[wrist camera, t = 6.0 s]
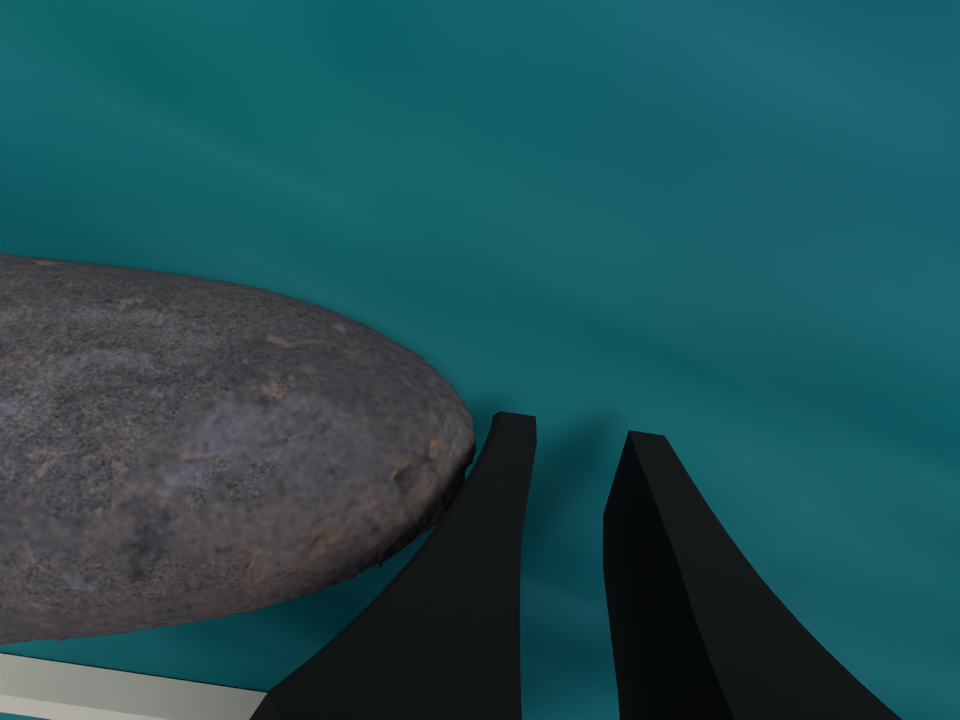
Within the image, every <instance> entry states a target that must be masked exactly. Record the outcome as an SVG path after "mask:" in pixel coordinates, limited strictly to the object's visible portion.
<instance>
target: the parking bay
mask: <svg viewBox="0 0 960 720" xmlns="http://www.w3.org/2000/svg"><path fill="white" fill-rule="evenodd" d="M266 694H267V693H264V692H258V691H251V690H244V689H237V688H231V687H224V686H217V685H210V684H203V683H197V682H190V681H183V680H176V679H170V678H163V677H156V676H149V675H143V674H136V673H129V672H122V671H116V670H109V669H102V668H95V667H89V666H82V665H75V664H68V663H62V662H55V661H48V660H41V659H35V658H28V657H21V656H14V655H8V654H1V653H0V712H5V713H12V714H18V715H25V716H32V717H39V718H45V719H52V720H249V719H250V718H251V716H252V715H253V713H254V712H255V710H256V709H257V707H258V706H259V704H260V703H261V701H262V700H263V698H264V697H265V696H266Z"/></svg>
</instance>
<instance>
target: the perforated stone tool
mask: <svg viewBox="0 0 960 720" xmlns="http://www.w3.org/2000/svg"><path fill="white" fill-rule="evenodd" d="M473 425H474V424H473V422H472V417H471V414H470V413H469V412H468V410H467V408H466V406H465V402H464V401H463V399H461V397H460V396H459V395H458V393H457V392H456V391H455V389H454V388H453V386H452V385H451V384H450V383H449V382H448V381H447V380H446V379H445V378H443V377H442V376H441V374H440V373H439V372H437V371H436V369H435V368H434V367H433V366H431V365H430V364H428V363H427V362H426V360H425V359H424V358H423V357H422V356H420V355H418V354H416V353H414V352H413V351H411V350H409V349H407V348H405V347H404V346H402V345H400V344H398V343H397V342H395V341H393V340H391V339H389V338H387V337H386V336H384V335H383V334H381V333H379V332H377V331H376V330H374V329H372V328H371V327H369V326H366V325H364V324H362V323H360V322H358V321H355V320H353V319H350V318H347V317H345V316H343V315H341V314H339V313H336V312H334V311H331V310H329V309H325V308H323V307H320V306H318V305H314V304H310V303H308V302H306V301H301V300H298V299H294V298H291V297H287V296H284V295H281V294H277V293H274V292H270V291H266V290H262V289H258V288H253V287H250V286H245V285H238V284H234V283H228V282H222V281H216V280H208V279H203V278H199V277H193V276H187V275H180V274H172V273H164V272H157V271H148V270H139V269H132V268H128V267H118V266H110V265H101V264H94V263H82V262H71V261H62V260H54V259H45V258H34V257H20V256H14V255H7V254H0V645H2V644H10V643H11V644H13V643H19V642H27V641H31V640H48V639H56V640H59V641H63V640H66V639H67V638H80V637H95V636H102V635H113V634H120V633H127V632H135V631H138V630H142V629H150V628H156V627H163V626H170V625H180V624H183V623H189V622H200V621H204V620H208V619H214V618H218V617H224V616H230V615H233V614H240V613H244V612H249V611H253V610H258V609H261V608H264V607H267V606H271V605H274V604H278V603H282V602H284V601H290V600H295V599H297V598H299V597H301V596H304V595H309V594H312V593H317V592H319V591H321V590H323V589H326V588H327V587H328V586H330V585H335V584H338V583H339V582H340V581H342V580H346V579H350V578H352V577H355V576H356V575H357V574H358V573H362V572H364V571H365V570H366V569H368V568H370V567H373V566H375V565H376V564H379V566H380V567H382V562H384V561H385V560H388V559H390V558H391V557H392V556H393V555H395V554H397V553H398V552H400V551H401V550H402V549H404V548H405V547H406V546H407V545H409V544H410V543H411V542H413V541H414V540H415V539H416V538H418V537H419V536H420V535H422V534H423V533H424V532H426V531H428V530H429V529H431V528H433V527H435V526H437V525H438V523H439V522H440V520H441V519H442V517H443V516H444V513H445V512H446V511H447V510H448V508H449V507H450V505H451V504H452V502H453V501H454V499H455V498H456V496H457V495H458V493H459V491H460V490H461V488H462V486H463V484H464V482H465V470H466V468H467V467H468V466H469V465H470V464H471V463H473V457H474V454H475V452H476V447H475V442H476V441H475V432H474V431H473Z"/></svg>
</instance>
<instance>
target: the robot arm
mask: <svg viewBox="0 0 960 720" xmlns="http://www.w3.org/2000/svg"><path fill="white" fill-rule="evenodd" d="M536 444H537V436H536V417H535V416H529V415H522V414H515V413H509V412H502V411H500V412H499V413H497V414H495V415H493V419H492V425H491V428H490V431H489V434H488V437H487V439H486V442H485V444H484V447H483V449H482V451H481V453H480V455H479V457H478V459H477V461H476V463H475V465H474V467H473V469H472V470H471V472H470V474H469V476H468V477H467V479H466V481H465V483H464V485H463V486H462V488H461V490H460V491H459V493H458V495H457V496H456V498H455V499H454V501H453V502H452V504H451V505H450V507H449V508H448V510H447V511H446V513H445V514H444V516H443V517H442V519H441V520H440V522H439V523H438V525H437V526H436V527H435V529H434V530H433V531H432V533H431V534H430V535H429V537H428V538H427V539H426V541H425V542H424V543H423V545H422V546H421V547H420V548H419V550H418V551H417V552H416V553H415V554H414V556H413V557H412V558H411V559H410V561H409V562H408V563H407V564H406V565H405V567H404V568H403V569H402V570H401V571H400V572H399V573H398V574H397V575H396V577H395V578H394V579H393V580H392V581H391V582H390V583H389V584H388V585H387V587H386V588H385V589H384V590H383V591H382V592H381V593H380V594H379V595H378V596H377V597H376V598H375V599H374V600H373V601H372V602H371V603H370V604H369V605H368V606H367V607H366V608H365V609H364V610H363V611H362V612H361V613H360V614H359V615H358V616H357V617H356V618H355V619H354V620H353V621H352V622H351V623H349V624H348V625H347V626H346V627H345V628H344V629H343V630H342V631H341V632H340V633H339V634H338V635H337V636H336V637H334V638H333V639H332V640H331V641H330V642H329V643H328V644H327V645H326V646H324V647H323V648H322V649H321V650H320V651H319V652H318V653H316V654H315V655H314V656H313V657H311V658H310V659H309V660H308V661H306V662H305V663H304V664H303V665H301V666H300V667H299V668H298V669H296V670H295V671H294V672H293V673H291V674H290V675H289V676H288V677H286V678H285V679H284V680H283V681H281V682H280V683H279V684H278V685H276V686H275V687H274V688H273V689H271V690H270V691H269V692H268V693H267V694H266V696H265V697H264V698H263V700H262V701H261V703H260V704H259V706H258V707H257V709H256V710H255V712H254V713H253V715H252V716H251V718H250V719H249V720H522V712H521V684H520V553H521V538H522V529H523V522H524V516H525V510H526V504H527V498H528V492H529V486H530V480H531V474H532V468H533V462H534V456H535V450H536ZM603 571H604V580H605V589H606V597H607V606H608V614H609V623H610V631H611V639H612V647H613V655H614V663H615V672H616V680H617V688H618V700H619V712H620V720H902V719H901V718H900V717H899V716H897V715H896V714H895V713H894V712H893V711H891V710H890V709H889V708H888V707H887V706H886V705H885V704H883V703H882V702H881V701H880V700H879V699H878V698H877V697H876V696H875V695H873V694H872V693H871V692H870V691H869V690H868V689H867V688H866V687H864V686H863V685H862V684H861V683H860V682H859V681H858V680H857V679H856V678H855V677H854V676H853V675H852V674H851V673H850V672H849V671H848V670H847V669H846V668H845V667H843V666H842V665H841V664H840V663H839V662H838V661H837V660H836V659H835V658H834V657H833V656H832V655H831V654H830V653H829V652H828V651H827V650H826V649H825V648H824V647H823V646H822V645H821V644H820V643H819V642H818V641H817V640H816V639H815V638H814V637H813V636H812V635H811V634H810V633H809V632H808V631H807V630H806V629H805V627H804V626H803V625H802V624H801V623H800V622H799V621H798V620H797V619H796V617H795V616H794V615H793V614H792V613H791V612H790V611H789V610H788V609H787V607H786V606H785V605H784V604H783V603H782V602H781V601H780V600H779V599H778V597H777V596H776V595H775V594H774V593H773V592H772V590H771V589H770V588H769V587H768V586H767V585H766V583H765V582H764V581H763V580H762V578H761V577H760V576H759V575H758V573H757V572H756V571H755V570H754V568H753V567H752V566H751V564H750V563H749V562H748V560H747V559H746V558H745V557H744V555H743V554H742V553H741V551H740V550H739V549H738V547H737V546H736V544H735V543H734V542H733V540H732V539H731V538H730V536H729V535H728V533H727V532H726V530H725V529H724V527H723V526H722V525H721V523H720V522H719V520H718V519H717V517H716V516H715V514H714V513H713V511H712V510H711V509H710V507H709V506H708V504H707V502H706V501H705V499H704V498H703V496H702V495H701V493H700V492H699V490H698V489H697V487H696V485H695V484H694V482H693V481H692V479H691V477H690V476H689V474H688V473H687V471H686V469H685V468H684V466H683V464H682V463H681V461H680V460H679V458H678V456H677V455H676V453H675V451H674V450H673V448H672V446H671V445H670V443H669V442H668V440H667V439H666V437H665V436H664V435H657V434H650V433H643V432H637V431H630V430H629V432H628V435H627V438H626V442H625V445H624V448H623V451H622V455H621V458H620V461H619V465H618V468H617V471H616V474H615V478H614V481H613V484H612V488H611V491H610V494H609V497H608V501H607V504H606V507H605V511H604V514H603Z"/></svg>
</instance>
